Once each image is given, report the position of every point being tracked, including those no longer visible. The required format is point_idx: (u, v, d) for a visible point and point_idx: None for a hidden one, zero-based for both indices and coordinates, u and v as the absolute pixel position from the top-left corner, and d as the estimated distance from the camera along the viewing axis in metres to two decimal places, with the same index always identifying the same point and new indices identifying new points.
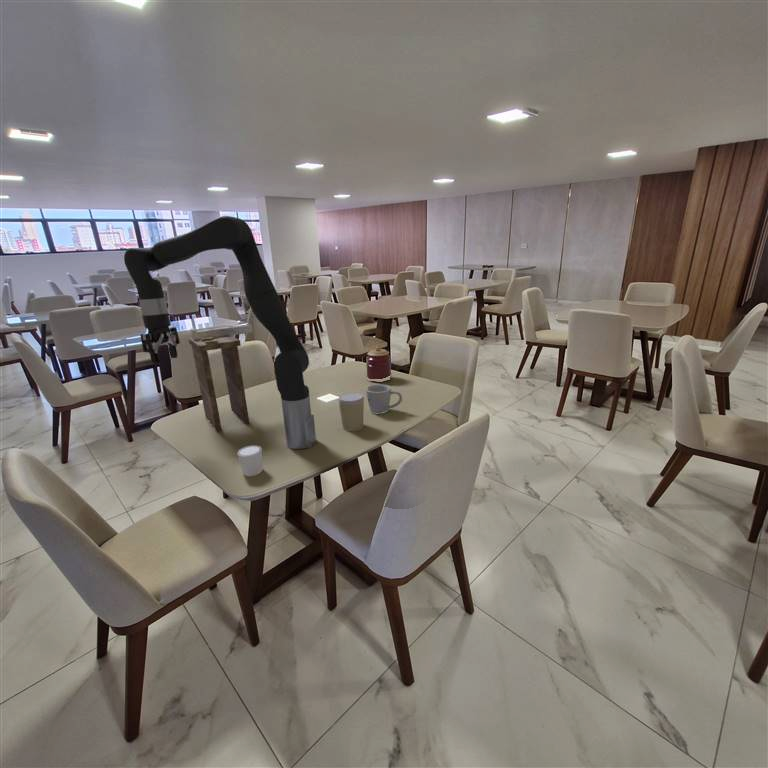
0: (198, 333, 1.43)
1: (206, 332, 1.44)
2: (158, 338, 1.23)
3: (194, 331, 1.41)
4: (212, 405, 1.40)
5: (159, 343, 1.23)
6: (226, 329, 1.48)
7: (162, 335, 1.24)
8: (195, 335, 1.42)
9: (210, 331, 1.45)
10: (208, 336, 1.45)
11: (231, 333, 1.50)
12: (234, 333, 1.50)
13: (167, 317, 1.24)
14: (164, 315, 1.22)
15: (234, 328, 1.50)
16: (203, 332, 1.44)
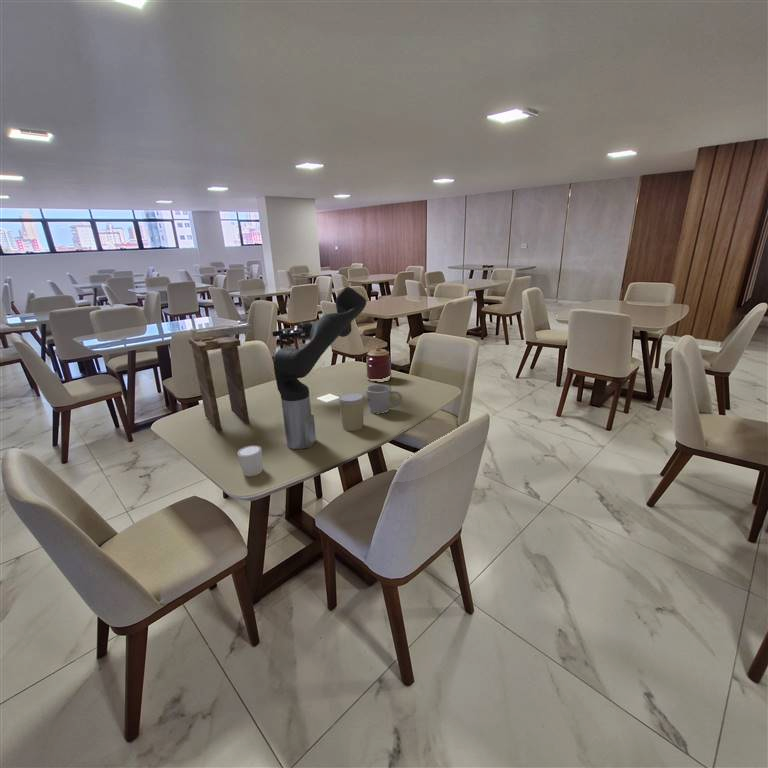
0: (198, 333, 1.43)
1: (206, 332, 1.44)
2: (296, 336, 1.65)
3: (194, 331, 1.41)
4: (212, 405, 1.40)
5: None
6: (226, 329, 1.48)
7: None
8: (195, 335, 1.42)
9: (210, 331, 1.45)
10: (208, 336, 1.45)
11: (231, 333, 1.50)
12: (234, 333, 1.50)
13: None
14: None
15: (234, 328, 1.50)
16: (203, 332, 1.44)
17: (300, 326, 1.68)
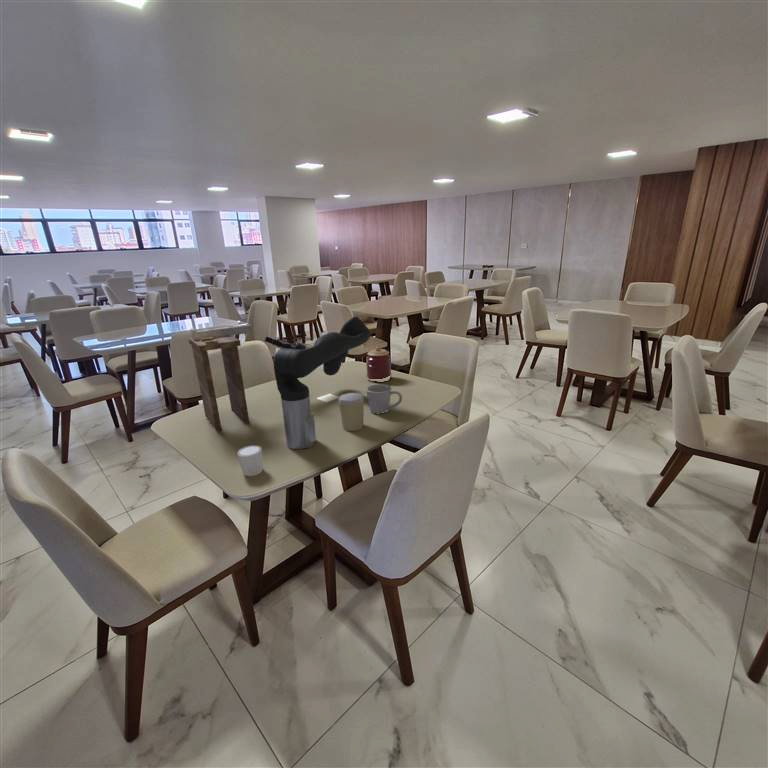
0: (198, 333, 1.43)
1: (206, 332, 1.44)
2: None
3: (194, 331, 1.41)
4: (212, 405, 1.40)
5: None
6: (226, 329, 1.48)
7: None
8: (195, 335, 1.42)
9: (210, 331, 1.45)
10: (208, 336, 1.45)
11: (231, 333, 1.50)
12: (234, 333, 1.50)
13: None
14: None
15: (234, 328, 1.50)
16: (203, 332, 1.44)
17: (294, 344, 1.68)
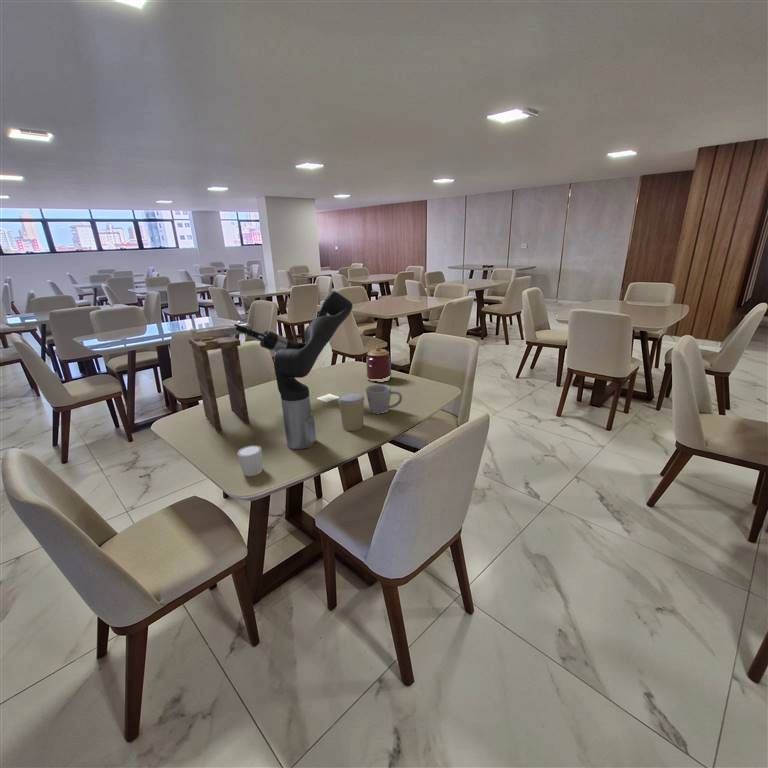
0: (198, 333, 1.43)
1: (206, 332, 1.44)
2: (257, 339, 1.55)
3: (194, 331, 1.41)
4: (212, 405, 1.40)
5: (253, 338, 1.54)
6: (226, 329, 1.48)
7: (257, 340, 1.57)
8: (195, 335, 1.42)
9: (210, 331, 1.45)
10: (208, 336, 1.45)
11: (231, 333, 1.50)
12: (234, 333, 1.50)
13: None
14: (269, 349, 1.61)
15: (234, 328, 1.50)
16: (203, 332, 1.43)
17: (266, 333, 1.59)
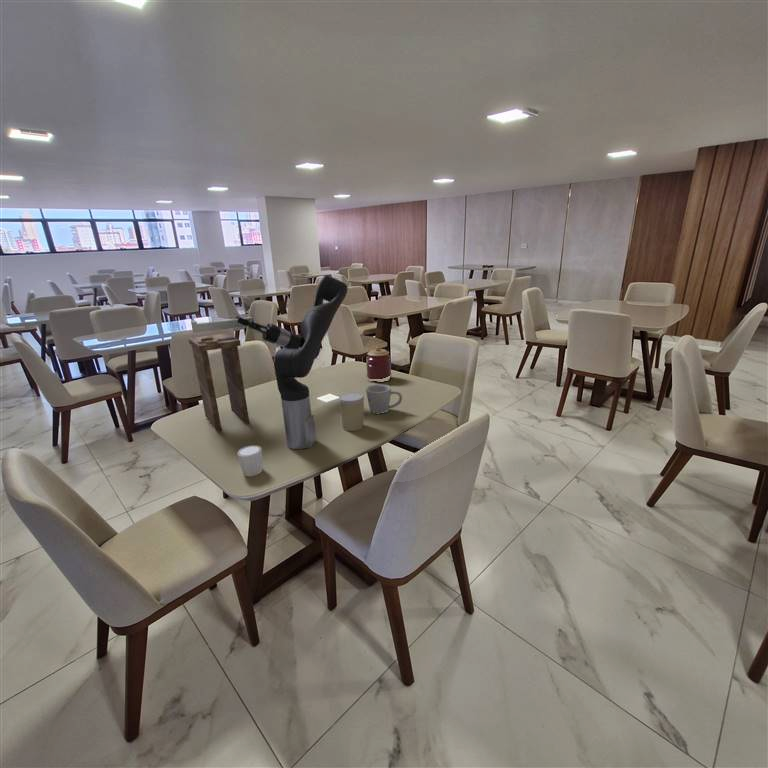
0: (199, 325, 1.38)
1: (207, 324, 1.39)
2: (259, 332, 1.50)
3: (194, 323, 1.36)
4: (212, 405, 1.40)
5: (256, 331, 1.49)
6: (227, 321, 1.43)
7: (259, 333, 1.52)
8: (195, 327, 1.37)
9: (211, 323, 1.40)
10: (209, 329, 1.40)
11: (233, 326, 1.45)
12: (236, 326, 1.46)
13: (269, 341, 1.57)
14: None
15: (236, 320, 1.45)
16: (204, 324, 1.39)
17: (268, 325, 1.55)
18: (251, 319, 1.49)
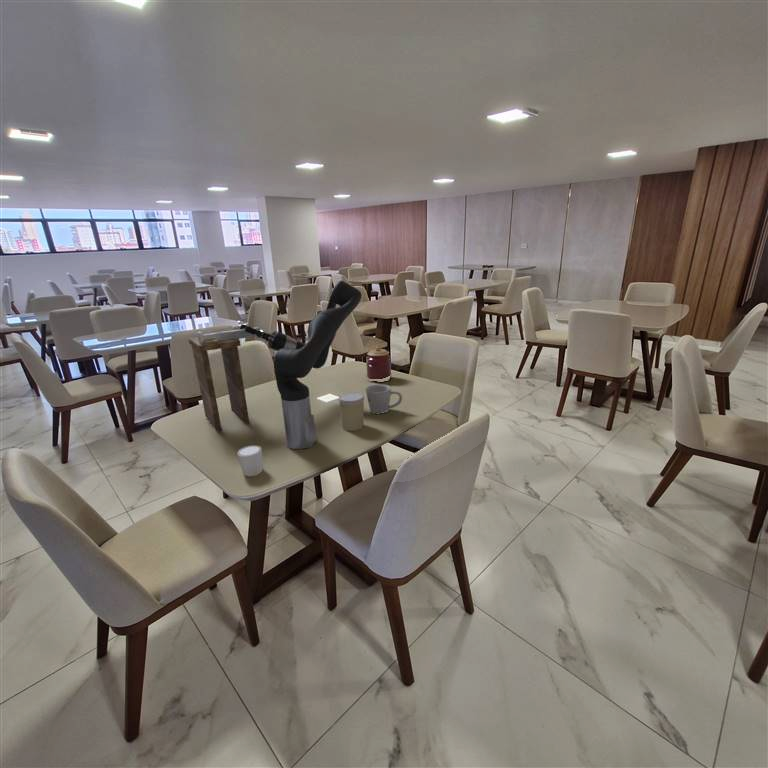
0: (205, 336, 1.35)
1: (213, 335, 1.36)
2: (265, 340, 1.47)
3: (200, 334, 1.33)
4: (212, 405, 1.40)
5: (261, 339, 1.46)
6: (234, 332, 1.41)
7: (265, 341, 1.49)
8: (202, 339, 1.34)
9: (217, 334, 1.37)
10: None
11: (239, 336, 1.42)
12: (242, 336, 1.43)
13: None
14: (277, 351, 1.53)
15: (242, 331, 1.42)
16: (210, 335, 1.36)
17: (274, 333, 1.51)
18: (258, 329, 1.46)
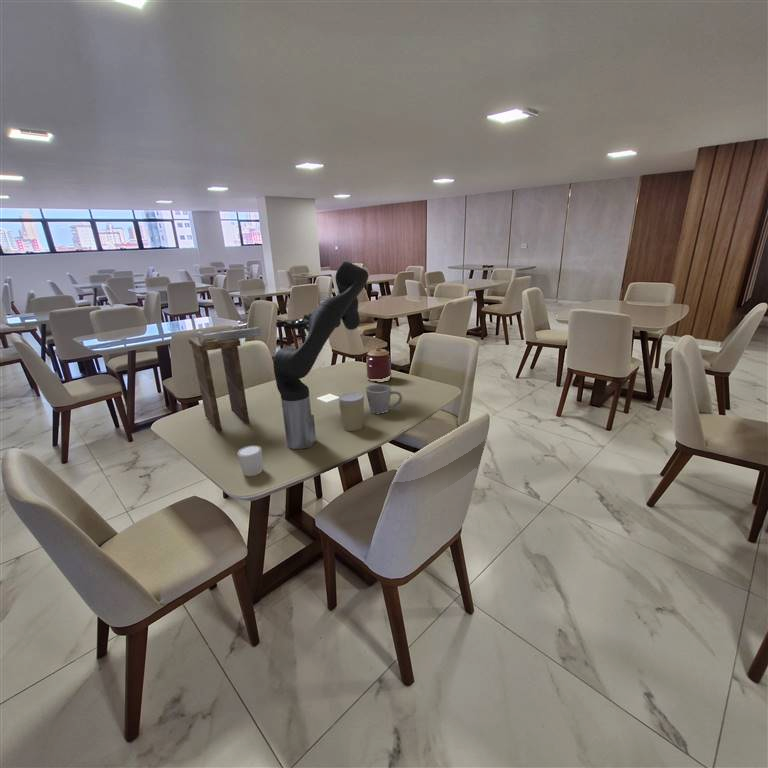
0: (205, 336, 1.35)
1: (213, 335, 1.36)
2: (302, 327, 1.55)
3: (200, 334, 1.33)
4: (212, 405, 1.40)
5: None
6: (234, 332, 1.41)
7: None
8: (202, 339, 1.34)
9: (217, 334, 1.37)
10: None
11: (239, 336, 1.42)
12: (242, 336, 1.43)
13: None
14: None
15: (242, 331, 1.42)
16: (210, 335, 1.36)
17: (306, 317, 1.58)
18: (258, 329, 1.46)
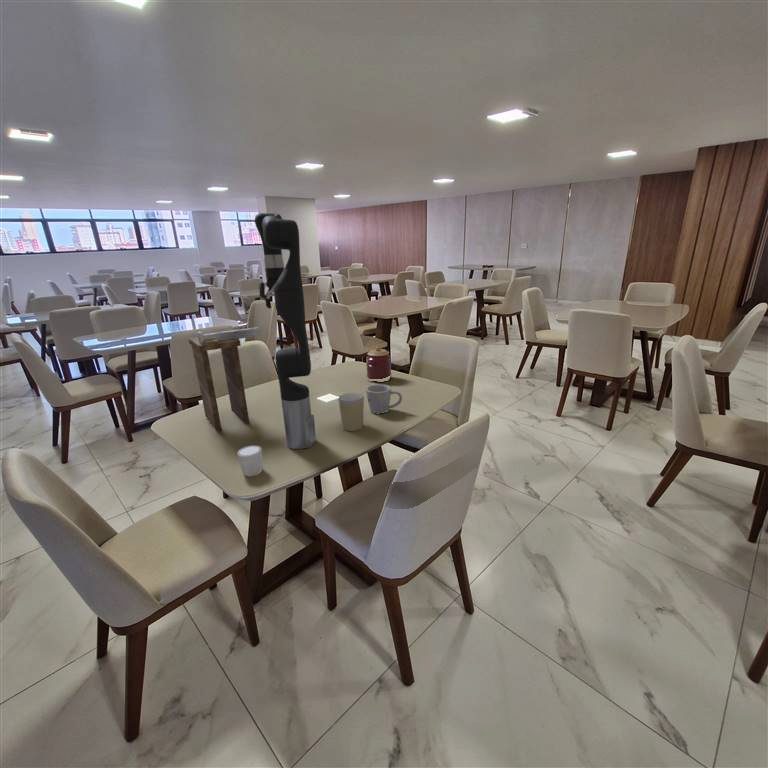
0: (205, 336, 1.35)
1: (213, 335, 1.36)
2: None
3: (200, 334, 1.33)
4: (212, 405, 1.40)
5: None
6: (234, 332, 1.41)
7: None
8: (202, 339, 1.34)
9: (217, 334, 1.37)
10: None
11: (239, 336, 1.42)
12: (242, 336, 1.43)
13: None
14: None
15: (242, 331, 1.42)
16: (210, 335, 1.36)
17: (278, 278, 1.53)
18: (258, 329, 1.46)
